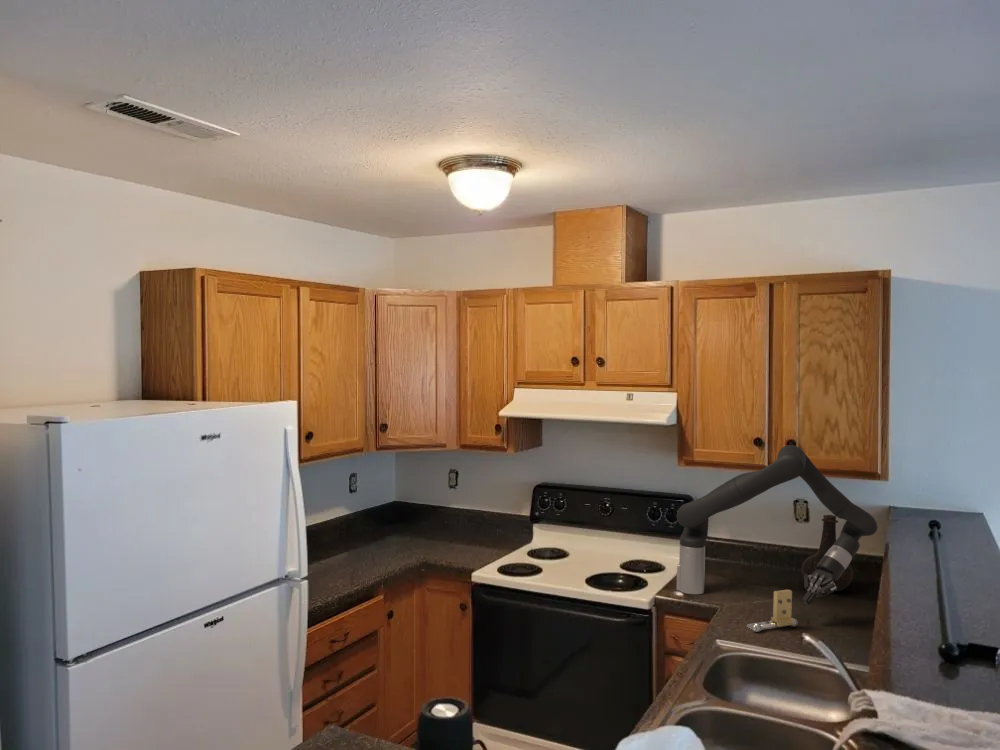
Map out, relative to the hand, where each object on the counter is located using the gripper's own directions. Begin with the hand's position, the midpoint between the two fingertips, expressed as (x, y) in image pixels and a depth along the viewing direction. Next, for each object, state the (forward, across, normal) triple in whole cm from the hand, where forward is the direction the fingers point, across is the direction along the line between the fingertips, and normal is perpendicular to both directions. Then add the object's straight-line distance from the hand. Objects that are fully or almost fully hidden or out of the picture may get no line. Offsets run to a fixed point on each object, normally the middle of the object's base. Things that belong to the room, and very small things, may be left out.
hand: (805, 602), depth 244 cm
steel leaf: (+14, +2, +3) cm, 14 cm away
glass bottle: (-22, +28, -32) cm, 49 cm away
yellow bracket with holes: (+11, 0, +2) cm, 11 cm away
